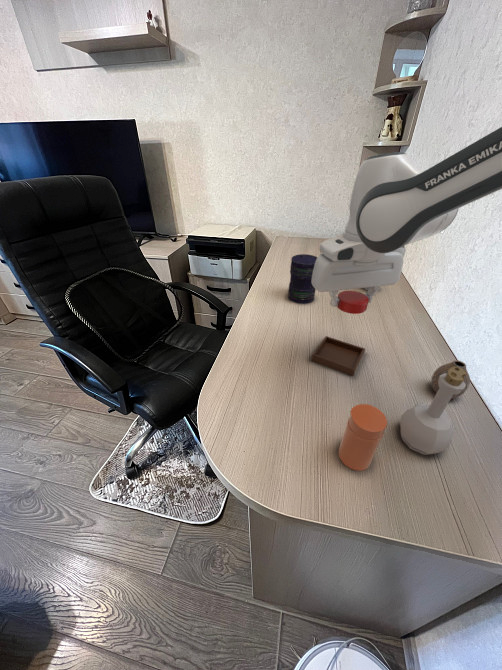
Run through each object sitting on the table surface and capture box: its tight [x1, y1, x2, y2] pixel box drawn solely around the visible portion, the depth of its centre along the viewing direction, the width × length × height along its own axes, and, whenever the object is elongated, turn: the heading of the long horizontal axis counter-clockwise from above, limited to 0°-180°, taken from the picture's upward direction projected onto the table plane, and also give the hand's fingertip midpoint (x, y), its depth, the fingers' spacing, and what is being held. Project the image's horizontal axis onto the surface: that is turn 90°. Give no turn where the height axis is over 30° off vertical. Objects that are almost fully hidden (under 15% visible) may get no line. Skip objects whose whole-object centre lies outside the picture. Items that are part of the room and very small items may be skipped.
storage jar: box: [287, 253, 318, 305], centre depth 100 cm, size 10×10×15 cm
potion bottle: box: [400, 367, 466, 456], centre depth 50 cm, size 9×9×18 cm
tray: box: [311, 335, 366, 377], centre depth 75 cm, size 11×10×2 cm
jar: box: [337, 403, 388, 472], centre depth 49 cm, size 6×6×11 cm
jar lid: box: [336, 290, 369, 315], centre depth 65 cm, size 7×7×2 cm
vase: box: [430, 359, 471, 399], centre depth 63 cm, size 7×7×9 cm
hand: (350, 303), depth 66 cm, fingers closed on jar lid, 7 cm apart
